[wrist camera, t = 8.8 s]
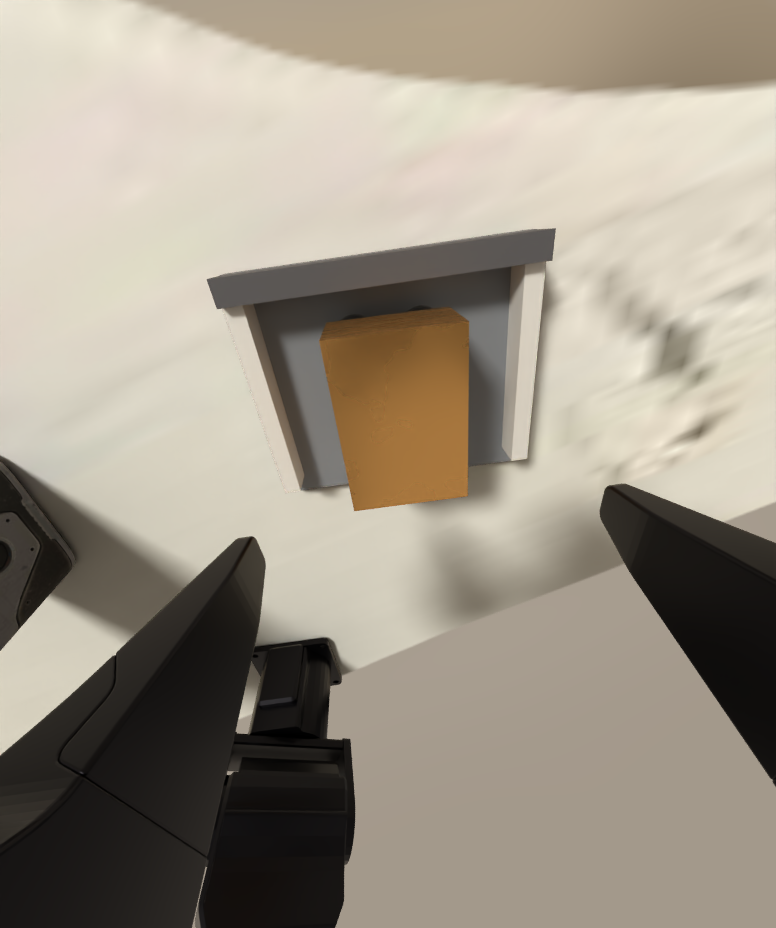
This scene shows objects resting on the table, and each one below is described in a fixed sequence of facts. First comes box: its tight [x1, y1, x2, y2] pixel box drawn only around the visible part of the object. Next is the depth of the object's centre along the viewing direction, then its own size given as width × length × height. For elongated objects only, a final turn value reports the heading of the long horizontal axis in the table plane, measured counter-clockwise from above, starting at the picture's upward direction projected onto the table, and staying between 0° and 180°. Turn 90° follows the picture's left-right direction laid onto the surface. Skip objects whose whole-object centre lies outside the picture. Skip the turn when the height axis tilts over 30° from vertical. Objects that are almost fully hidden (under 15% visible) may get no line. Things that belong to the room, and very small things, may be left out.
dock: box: [207, 228, 556, 493], centre depth 17 cm, size 11×13×3 cm
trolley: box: [319, 305, 469, 511], centre depth 15 cm, size 7×5×5 cm
